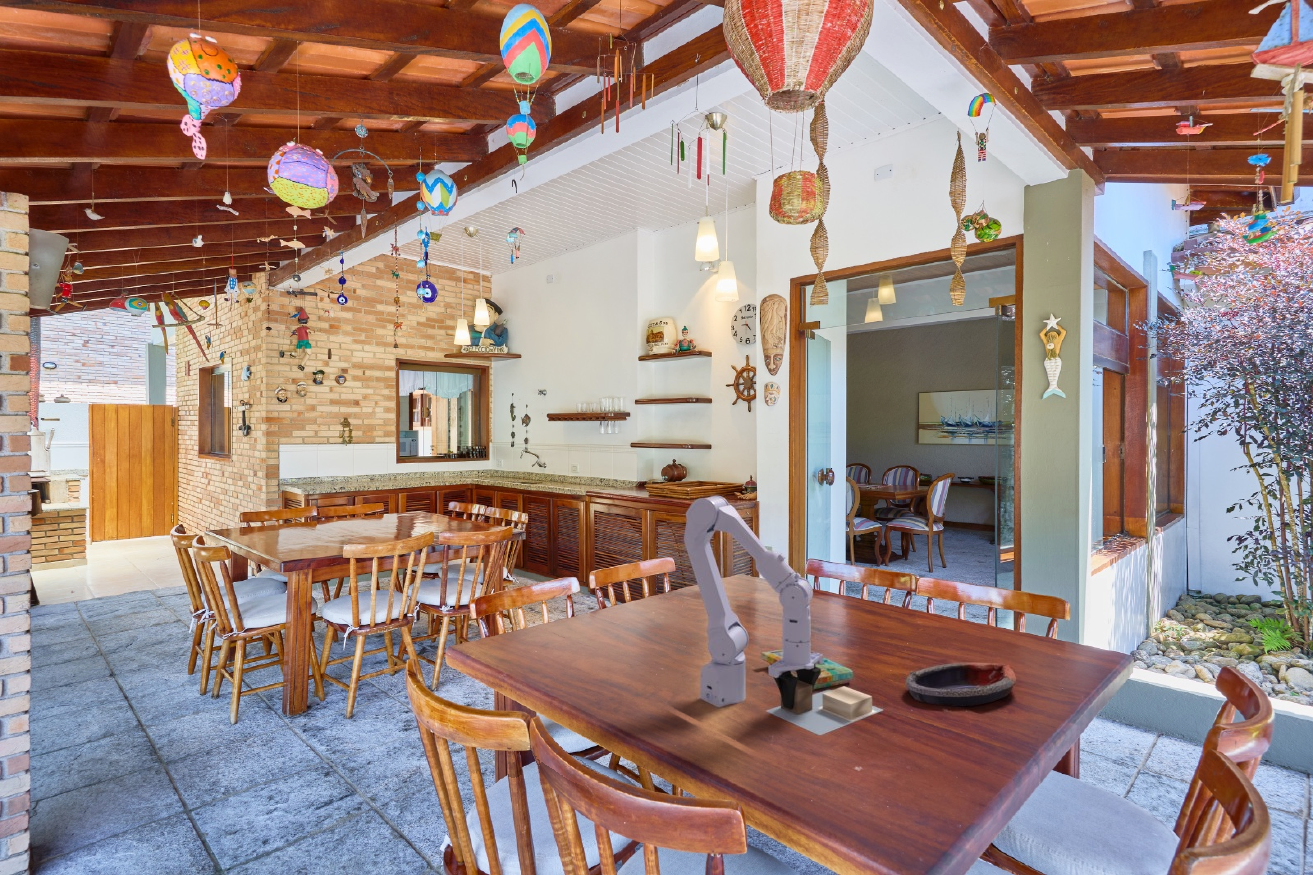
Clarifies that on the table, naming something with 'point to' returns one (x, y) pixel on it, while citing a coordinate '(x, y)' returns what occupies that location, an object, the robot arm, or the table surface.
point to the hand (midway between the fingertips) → (796, 704)
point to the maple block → (847, 702)
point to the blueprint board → (818, 717)
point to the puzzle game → (829, 669)
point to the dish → (961, 683)
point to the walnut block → (801, 698)
